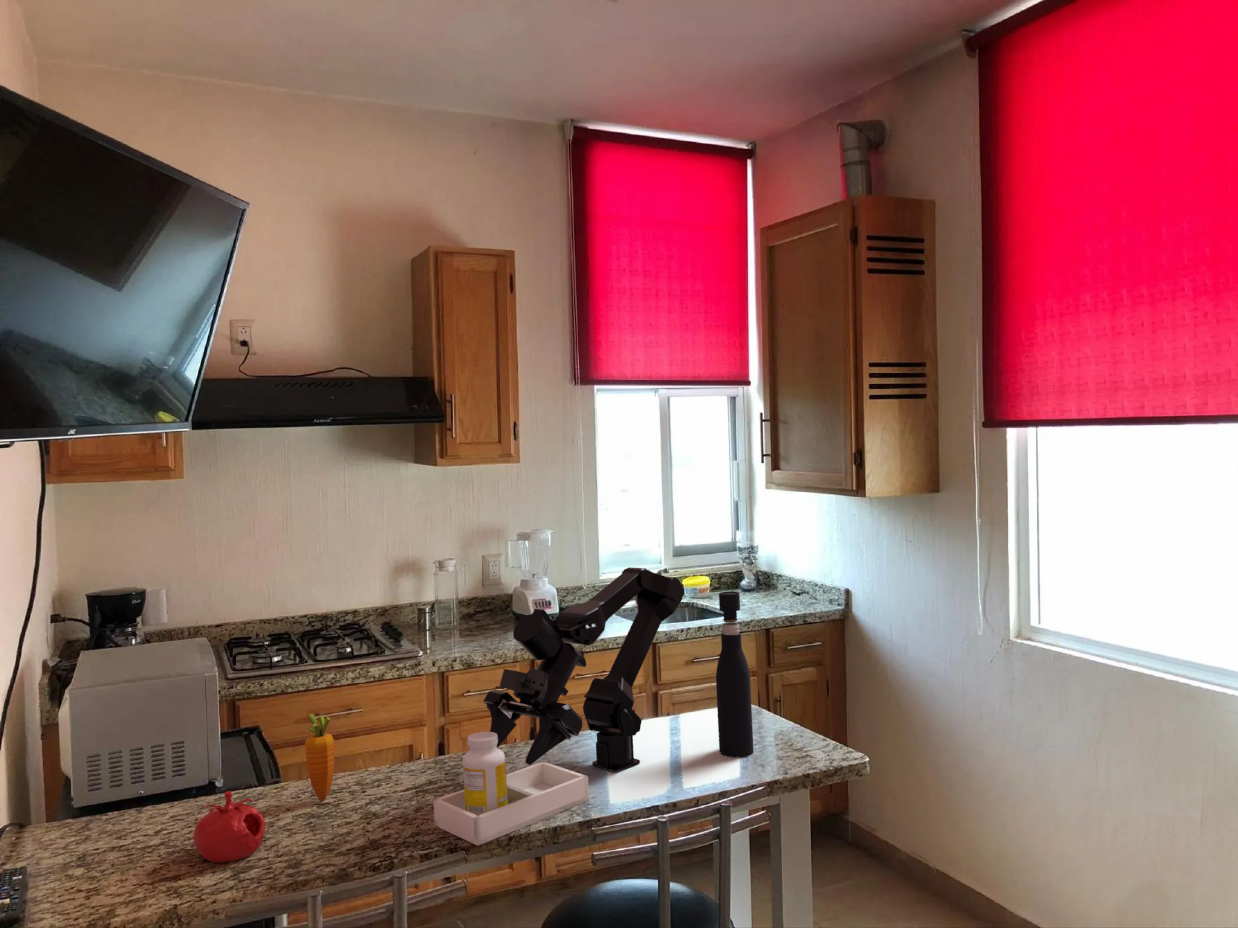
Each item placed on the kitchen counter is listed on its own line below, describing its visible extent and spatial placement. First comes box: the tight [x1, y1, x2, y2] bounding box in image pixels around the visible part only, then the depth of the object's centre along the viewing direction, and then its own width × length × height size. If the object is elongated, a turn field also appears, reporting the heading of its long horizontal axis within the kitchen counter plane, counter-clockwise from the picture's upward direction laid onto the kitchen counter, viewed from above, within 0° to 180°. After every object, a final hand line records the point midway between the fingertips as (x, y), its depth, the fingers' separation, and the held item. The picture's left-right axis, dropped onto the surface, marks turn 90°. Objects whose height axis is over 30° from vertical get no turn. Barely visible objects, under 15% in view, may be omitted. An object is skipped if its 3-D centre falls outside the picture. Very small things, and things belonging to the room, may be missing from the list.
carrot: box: [304, 713, 336, 802], centre depth 155 cm, size 5×5×15 cm
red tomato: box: [192, 790, 266, 864], centre depth 136 cm, size 10×10×9 cm
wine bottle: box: [715, 591, 754, 758], centre depth 171 cm, size 6×6×30 cm
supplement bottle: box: [462, 731, 508, 816], centre depth 143 cm, size 7×7×13 cm
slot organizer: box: [433, 761, 590, 847], centre depth 146 cm, size 22×12×4 cm, turn 134°
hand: (507, 758), depth 146 cm, fingers open, 9 cm apart
